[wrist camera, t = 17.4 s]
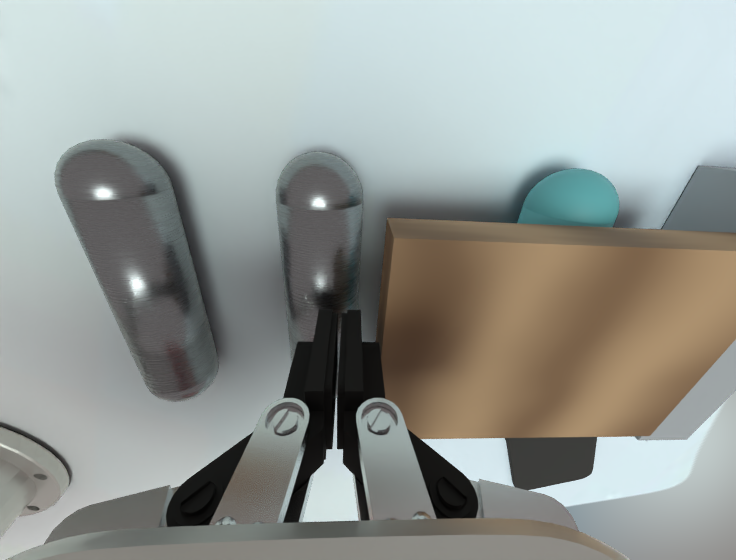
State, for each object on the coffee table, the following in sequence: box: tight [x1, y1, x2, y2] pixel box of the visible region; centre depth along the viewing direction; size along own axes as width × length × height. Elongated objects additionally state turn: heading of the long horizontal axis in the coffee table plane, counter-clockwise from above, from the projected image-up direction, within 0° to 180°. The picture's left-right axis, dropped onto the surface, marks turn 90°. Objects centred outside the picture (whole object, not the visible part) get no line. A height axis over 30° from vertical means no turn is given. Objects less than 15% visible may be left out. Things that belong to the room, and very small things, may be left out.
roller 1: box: [55, 139, 219, 402], centre depth 14 cm, size 4×14×4 cm, turn 177°
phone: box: [505, 437, 597, 490], centre depth 25 cm, size 7×1×15 cm
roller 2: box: [276, 152, 363, 398], centre depth 15 cm, size 4×14×4 cm, turn 177°
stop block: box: [635, 166, 736, 440], centre depth 15 cm, size 3×14×5 cm, turn 177°
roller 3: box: [517, 169, 619, 227], centre depth 15 cm, size 14×4×4 cm, turn 177°
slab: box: [375, 218, 736, 439], centre depth 12 cm, size 14×10×2 cm
